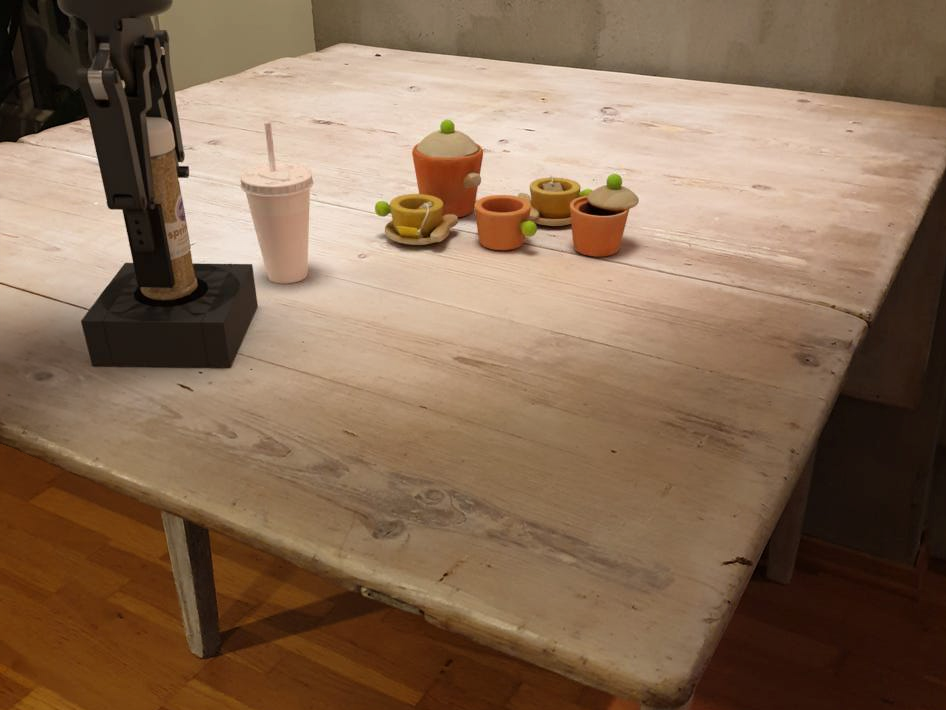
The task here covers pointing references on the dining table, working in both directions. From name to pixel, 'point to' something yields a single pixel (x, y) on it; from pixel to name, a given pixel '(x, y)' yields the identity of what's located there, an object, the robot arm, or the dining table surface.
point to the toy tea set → (500, 202)
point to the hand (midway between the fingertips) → (165, 271)
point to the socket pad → (172, 320)
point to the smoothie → (280, 214)
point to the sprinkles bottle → (170, 210)
